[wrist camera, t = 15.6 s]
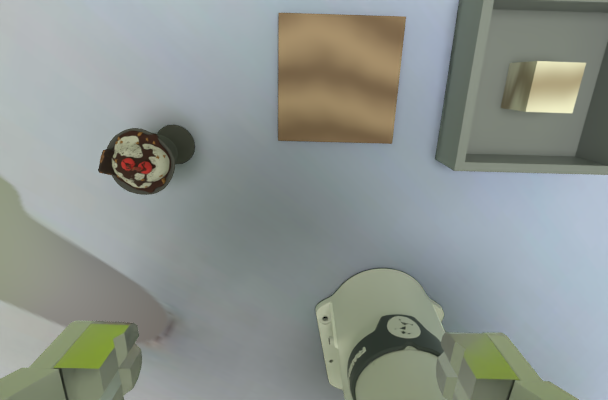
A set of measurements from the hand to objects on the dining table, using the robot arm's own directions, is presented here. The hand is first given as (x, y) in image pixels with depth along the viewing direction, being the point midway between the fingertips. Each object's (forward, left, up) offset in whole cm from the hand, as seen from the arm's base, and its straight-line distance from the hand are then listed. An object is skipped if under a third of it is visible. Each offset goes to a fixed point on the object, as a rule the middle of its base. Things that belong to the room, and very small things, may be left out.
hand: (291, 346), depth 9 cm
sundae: (-2, +16, -37) cm, 40 cm away
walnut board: (+6, -4, -37) cm, 37 cm away
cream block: (+6, -26, -36) cm, 45 cm away
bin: (+6, -26, -37) cm, 45 cm away
